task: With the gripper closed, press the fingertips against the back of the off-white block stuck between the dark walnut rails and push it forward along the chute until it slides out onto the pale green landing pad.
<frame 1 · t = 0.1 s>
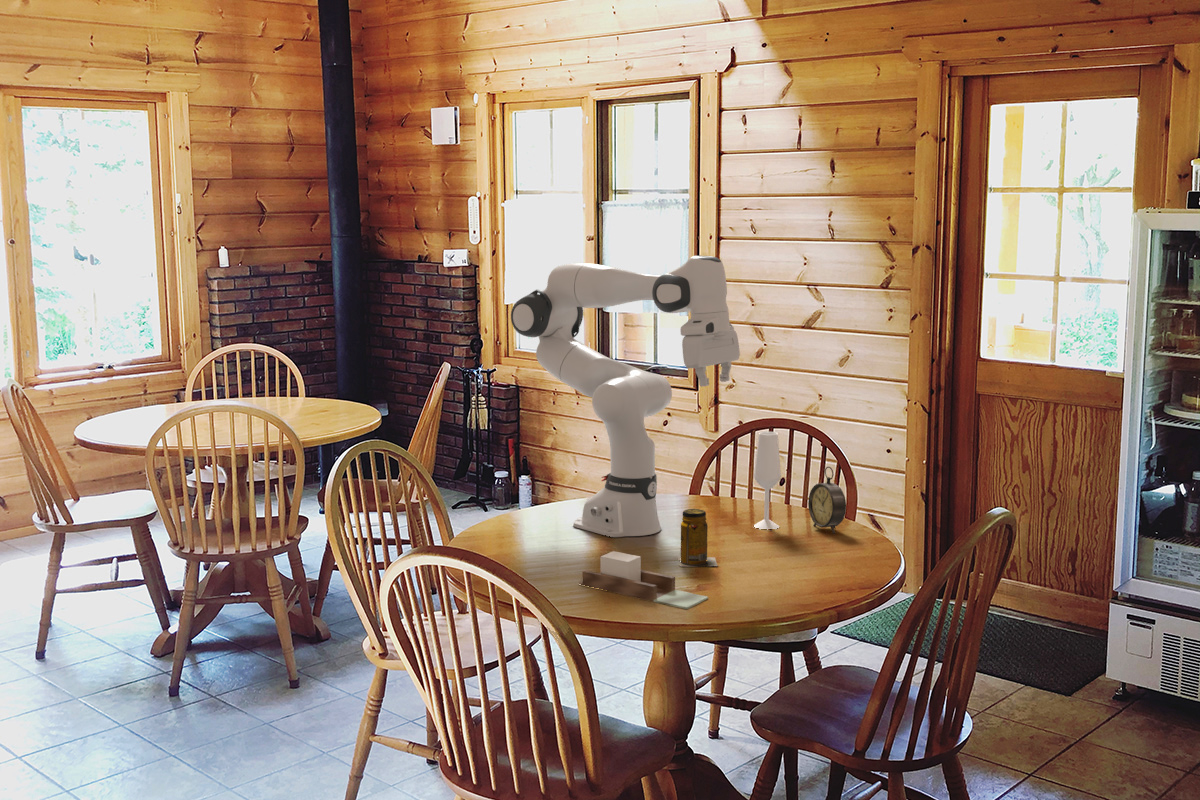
hand: (714, 383, 276), 39 cm above the table, tool pointing down, fingers open, 8 cm apart
jammed block: (620, 570, 249), point 4 cm above the table, slide at 0.0 cm
alarm clock: (827, 530, 295), on the table
condiment: (697, 563, 267), on the table
champagne flute: (766, 527, 298), on the table
chute: (644, 592, 246), on the table
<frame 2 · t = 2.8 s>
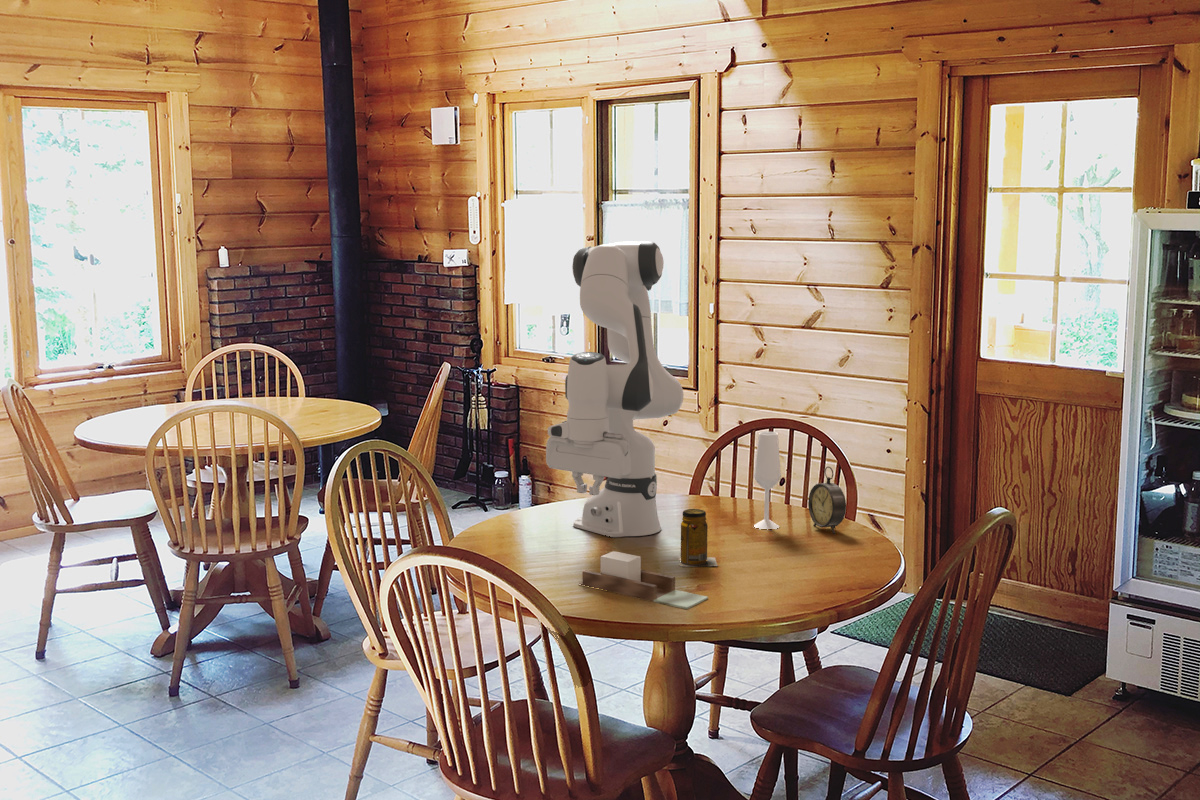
hand: (588, 493, 251), 19 cm above the table, tool pointing down, fingers closed
nothing on the table moved.
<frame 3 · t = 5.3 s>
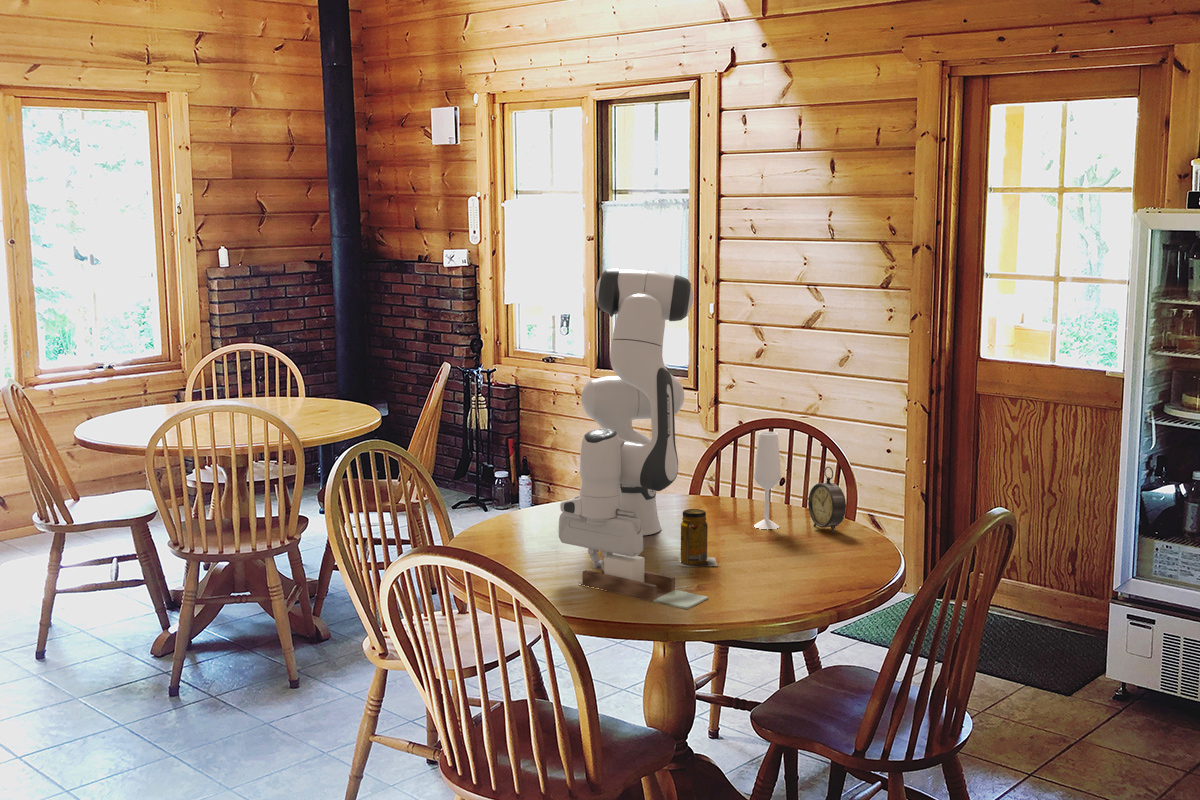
hand: (600, 569, 251), 3 cm above the table, tool pointing down, fingers closed
jammed block: (624, 570, 248), point 4 cm above the table, slide at 0.9 cm, touching gripper
everything else where it was.
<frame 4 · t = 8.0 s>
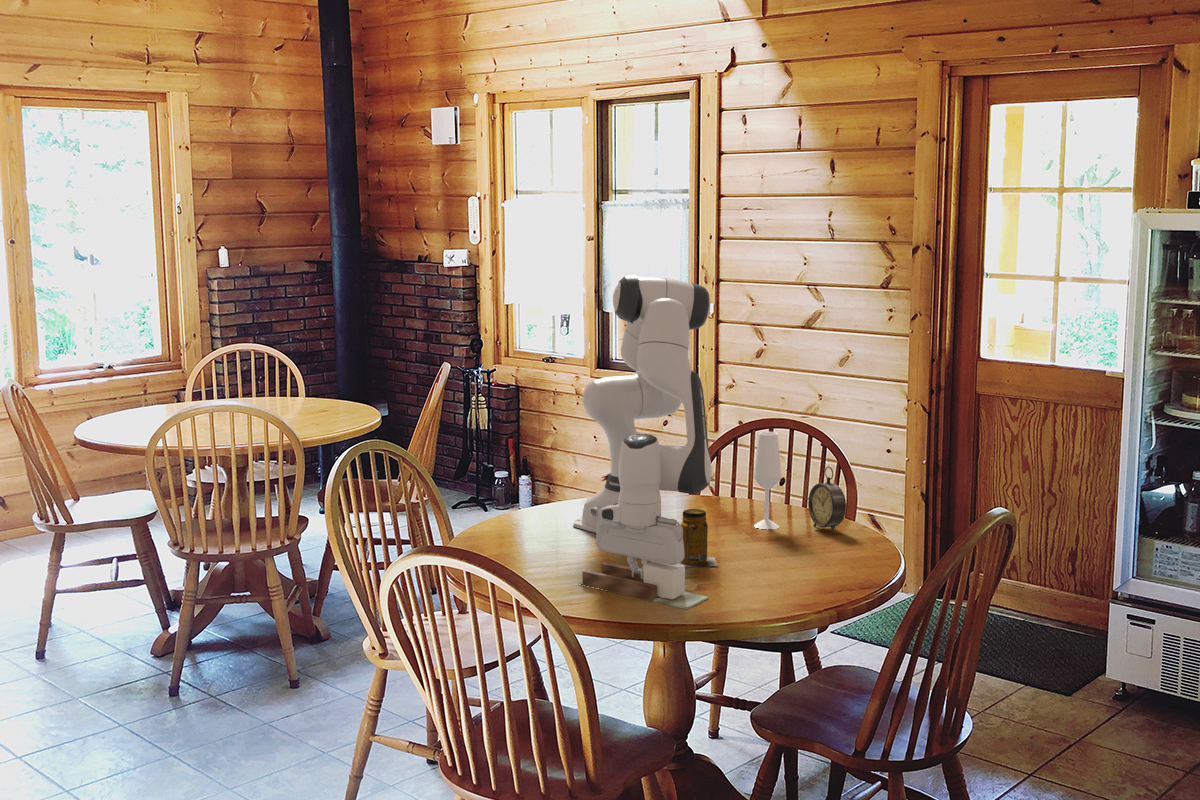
hand: (639, 577, 246), 3 cm above the table, tool pointing down, fingers closed
jammed block: (664, 579, 242), point 4 cm above the table, slide at 10.9 cm, touching gripper
everything else where it was.
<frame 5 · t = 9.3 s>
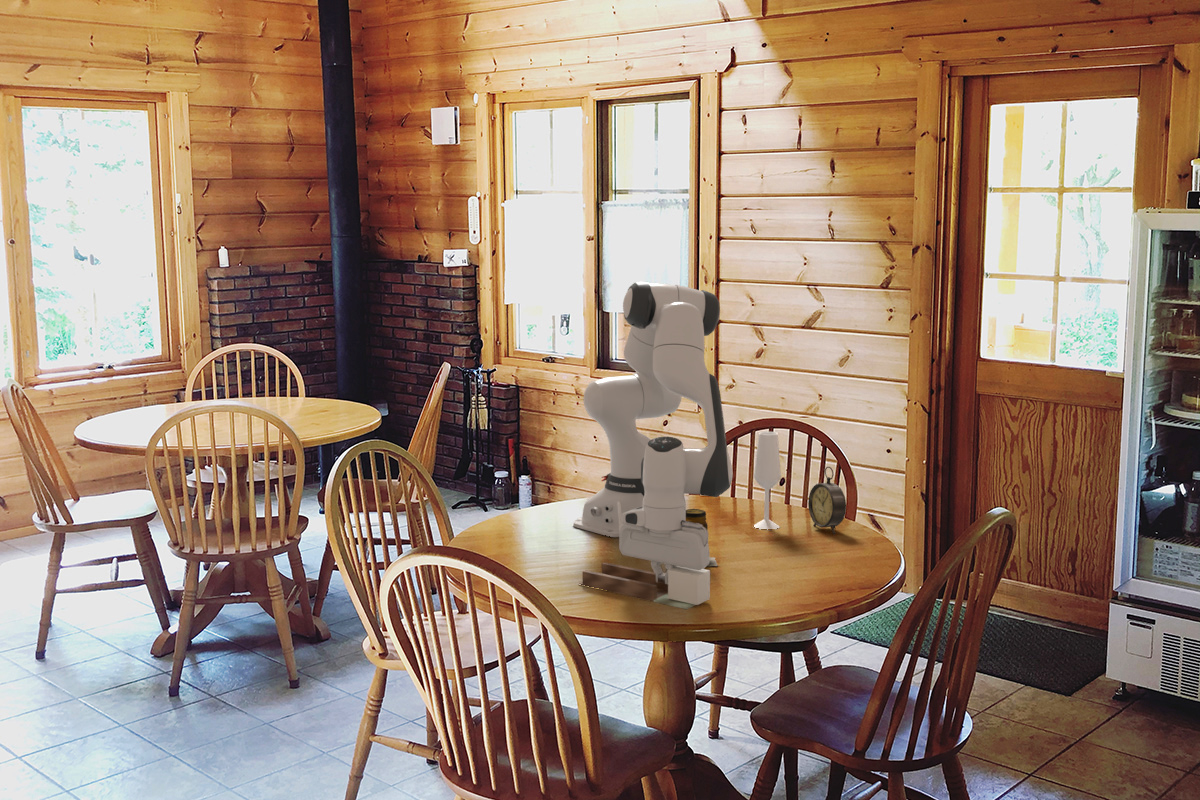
hand: (663, 582, 242), 3 cm above the table, tool pointing down, fingers closed
jammed block: (689, 584, 239), point 4 cm above the table, slide at 16.9 cm, touching gripper
everything else where it was.
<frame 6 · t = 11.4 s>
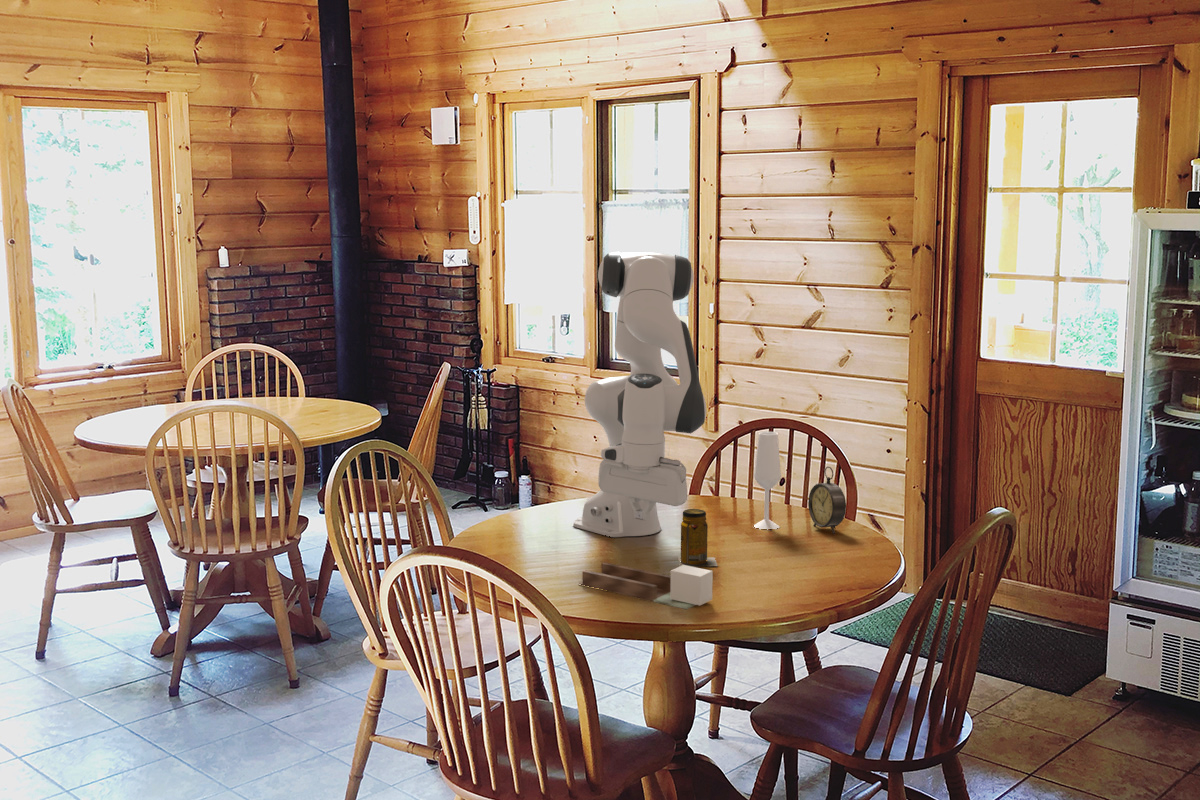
hand: (641, 519, 244), 16 cm above the table, tool pointing down, fingers closed
jammed block: (691, 584, 239), point 4 cm above the table, slide at 17.5 cm
everything else where it was.
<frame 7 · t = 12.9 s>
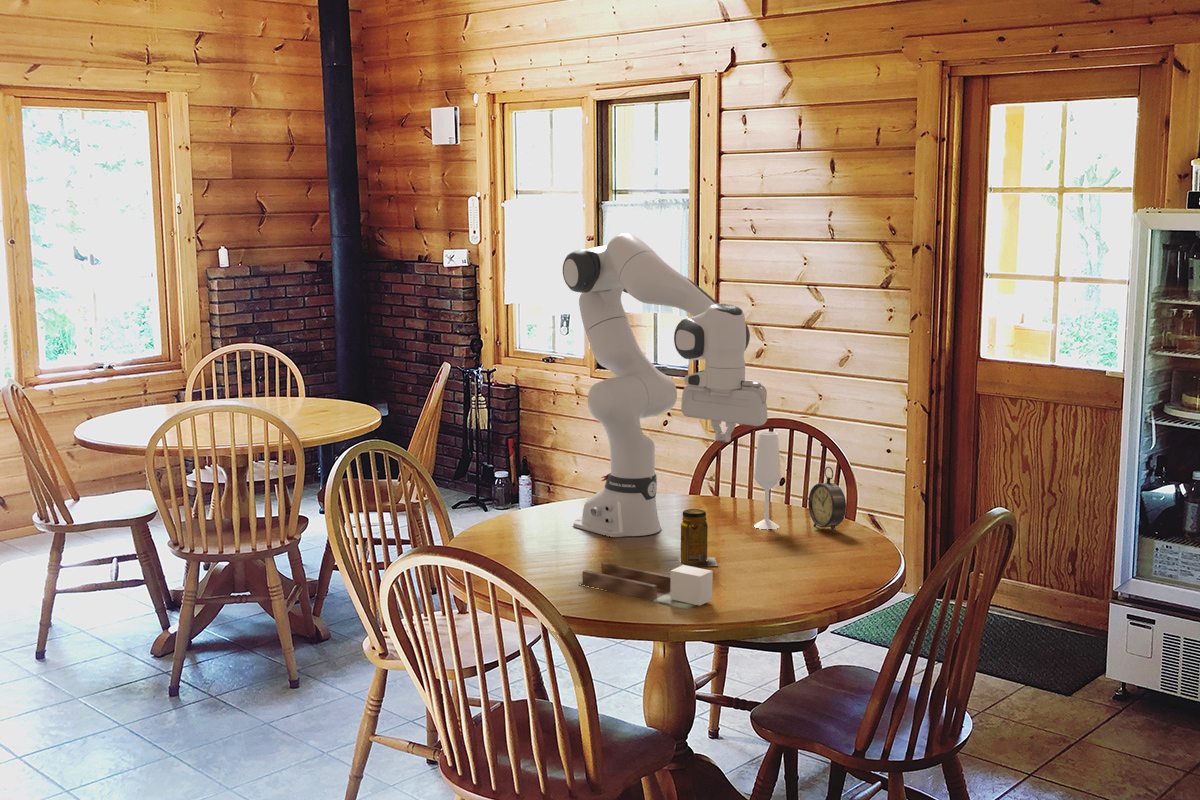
hand: (723, 441, 260), 29 cm above the table, tool pointing down, fingers closed
nothing on the table moved.
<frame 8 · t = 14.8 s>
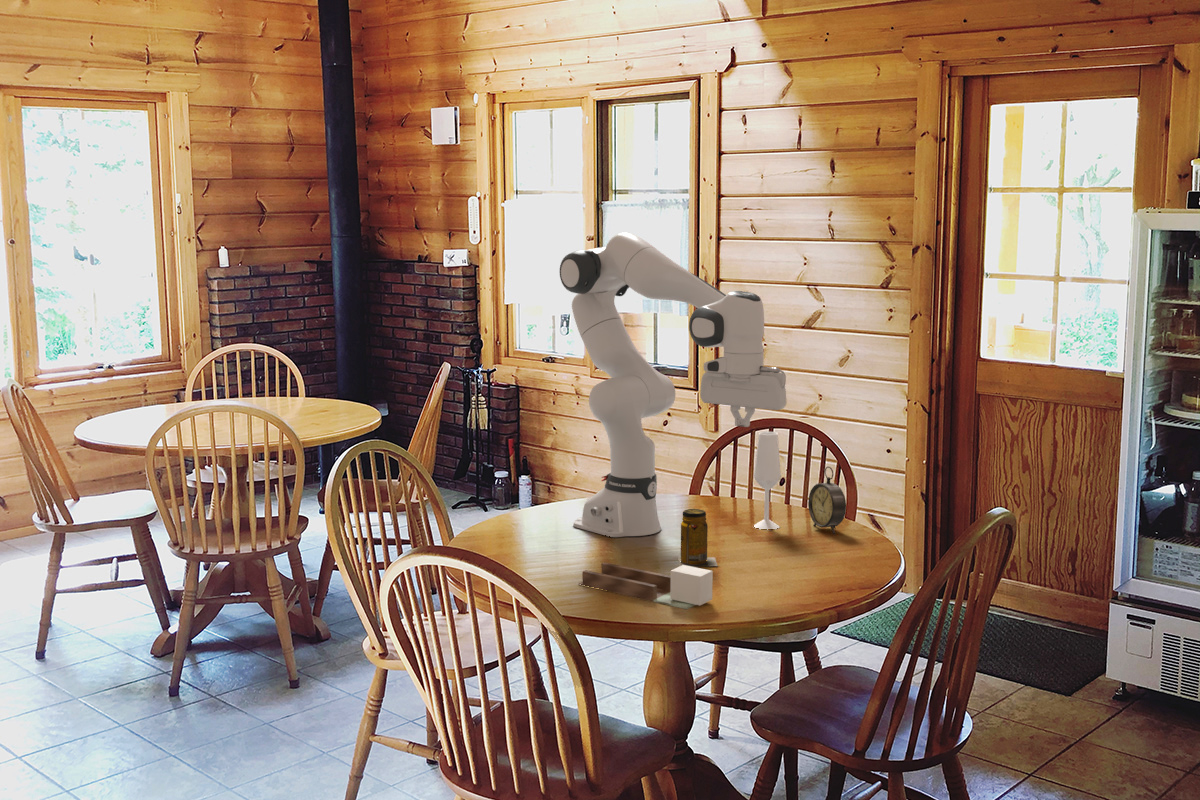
hand: (742, 426, 264), 31 cm above the table, tool pointing down, fingers closed
nothing on the table moved.
at the end: jammed block slide at 17.5 cm; the gripper is holding nothing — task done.
